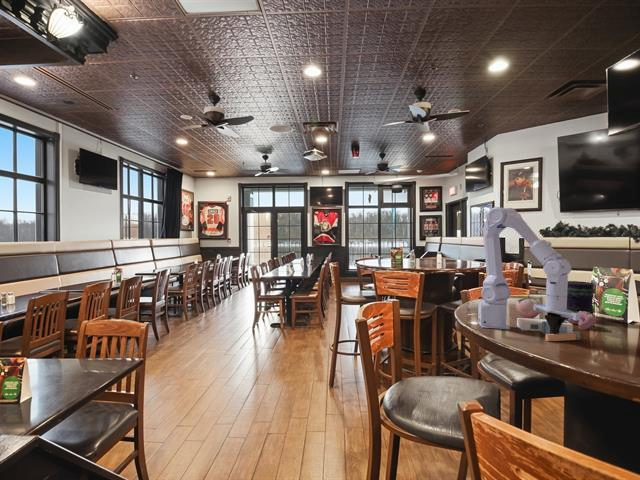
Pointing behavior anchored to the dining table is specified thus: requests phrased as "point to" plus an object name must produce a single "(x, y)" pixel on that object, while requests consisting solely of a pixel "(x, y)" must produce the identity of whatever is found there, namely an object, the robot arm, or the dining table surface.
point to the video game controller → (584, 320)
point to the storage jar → (580, 296)
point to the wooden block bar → (563, 336)
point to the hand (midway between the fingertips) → (554, 337)
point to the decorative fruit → (527, 307)
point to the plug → (547, 329)
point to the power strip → (538, 324)
